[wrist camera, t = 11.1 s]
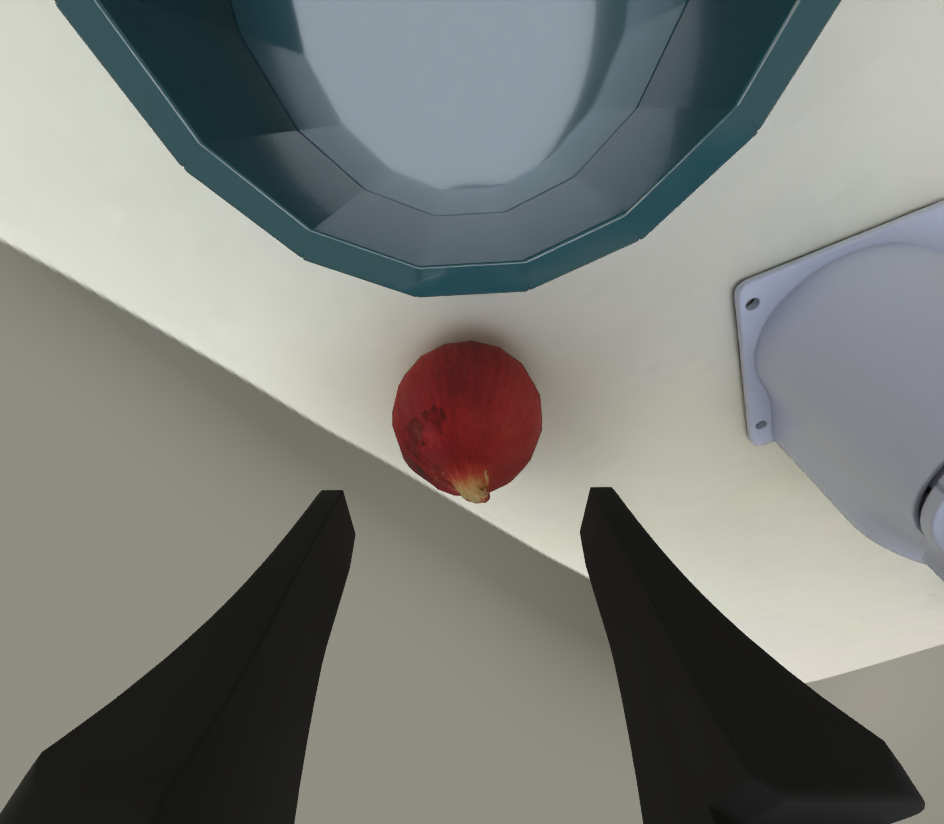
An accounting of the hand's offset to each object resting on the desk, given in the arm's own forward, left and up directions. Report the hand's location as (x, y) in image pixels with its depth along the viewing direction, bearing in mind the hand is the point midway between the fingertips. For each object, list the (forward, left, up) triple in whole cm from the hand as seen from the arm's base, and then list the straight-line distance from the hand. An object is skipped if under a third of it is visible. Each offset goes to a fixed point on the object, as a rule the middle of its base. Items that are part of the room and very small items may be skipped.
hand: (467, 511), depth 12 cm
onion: (0, 0, -9) cm, 9 cm away
